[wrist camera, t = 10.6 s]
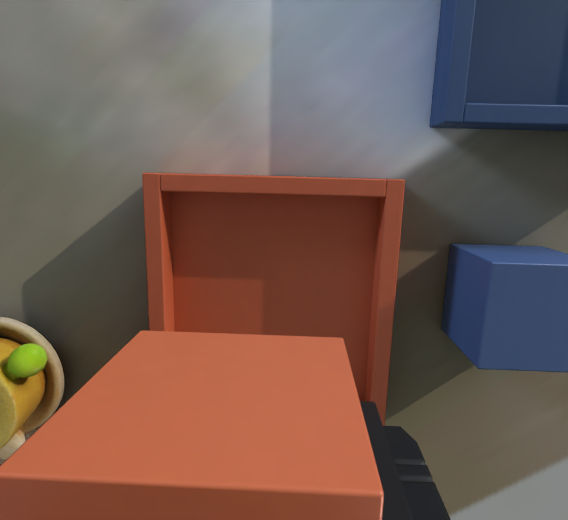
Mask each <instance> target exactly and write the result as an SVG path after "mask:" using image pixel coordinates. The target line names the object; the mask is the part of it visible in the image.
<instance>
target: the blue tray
mask: <svg viewBox="0 0 568 520" xmlns="http://www.w3.org/2000/svg"><path fill="white" fill-rule="evenodd" d="M430 128H465V129H511V130H556V131H568V0H441V11H440V22H439V32H438V43H437V53H436V64H435V75H434V85H433V96H432V107H431V117H430Z"/></svg>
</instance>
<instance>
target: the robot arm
mask: <svg viewBox="0 0 568 520" xmlns="http://www.w3.org/2000/svg"><path fill="white" fill-rule="evenodd" d="M360 404H361V408H362V412H363V416H364V420H365V423H366V427H367V431H368V435H369V439H370V442H371V446H372V450H373V454H374V458H375V462H376V465H377V469H378V473H379V477H380V481H381V484H382V488H383V492H384V502H383V514H382V520H450V517H449V515H448V513H447V510H446V508H445V506H444V504H443V501H442V499H441V497H440V494H439V492H438V490H437V487H436V485H435V483H434V482H433V481H432V476H431V474H430V471H429V469H428V467H427V465H425V460H424V458H423V455H422V453H421V451H420V448H419V446H418V444H417V442H416V441H415V440H414V439H413V438H412V437H411V436H410V435H408V434H407V433H406V432H405V431H404V430H403V429H402V428H401V427H399V426H383V425H382V422H381V419H380V416H379V412H378V409H377V406H376V404H375V402H374V401H360Z"/></svg>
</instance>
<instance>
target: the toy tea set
mask: <svg viewBox="0 0 568 520" xmlns="http://www.w3.org/2000/svg"><path fill="white" fill-rule="evenodd" d="M63 393H64V374H63V368H62V365H61V362H60V360H59V357H58V355H57V353H56V351H55V350H54V348H53V347H52V345H51V344H50V343H49V342H48V341H47V340H46V339H45V338H44V337H43V336H42V335H41V334H40V333H38V332H37V331H36V330H35V329H33V328H32V327H30V326H28V325H26V324H24V323H22V322H20V321H17V320H14V319H11V318H6V317H0V460H7V459H8V458H9V457H10V456H11V455H12V454H13V453H14V452H15V451H16V450H17V449H18V448H19V447H20V446H21V445H22V444H23V443H24V442H25V441H26V440H25V436H24V434H26V433H28V432H30V431H32V430H34V429H36V428H38V427H40V426H41V425H42V424H43V423H45V422H46V421H47V420H48V419H49V418H50V417H51V416H52V414H53V413H54V412H55V411H56V409H57V408H58V406H59V404H60V402H61V400H62V396H63Z"/></svg>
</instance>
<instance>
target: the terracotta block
mask: <svg viewBox="0 0 568 520" xmlns="http://www.w3.org/2000/svg"><path fill="white" fill-rule="evenodd" d="M383 502H384V492H383V488H382V484H381V481H380V477H379V473H378V469H377V465H376V462H375V458H374V454H373V450H372V446H371V442H370V439H369V435H368V431H367V427H366V423H365V420H364V416H363V412H362V408H361V404H360V400H359V397H358V393H357V389H356V385H355V381H354V378H353V374H352V370H351V366H350V362H349V359H348V355H347V351H346V347H345V343H344V340H343V338H336V337H309V336H281V335H253V334H226V333H198V332H171V331H143V330H142V331H140V332H139V333H138V334H137V335H135V336H134V337H133V338H132V339H131V340H130V341H129V342H128V343H127V344H126V345H125V346H124V347H123V348H122V349H121V350H120V351H119V352H118V353H117V354H116V355H115V356H114V357H113V358H112V359H111V360H110V361H108V362H107V363H106V364H105V365H104V366H103V367H102V368H101V369H100V370H99V371H98V372H97V373H96V374H95V375H94V376H93V377H92V378H91V379H90V380H89V381H88V382H87V383H86V384H85V385H84V386H82V387H81V388H80V389H79V390H78V391H77V392H76V393H75V394H74V395H73V396H72V397H71V398H70V399H69V400H68V401H67V402H66V403H65V404H64V405H63V406H62V407H61V408H60V409H59V410H58V411H56V412H55V413H54V414H53V415H52V416H51V417H50V418H49V419H48V420H47V421H46V422H45V423H44V424H43V425H42V426H41V427H40V428H39V429H38V430H37V431H36V432H35V433H34V434H33V435H32V436H30V437H29V438H28V439H27V440H26V441H25V442H24V443H23V444H22V445H21V446H20V447H19V448H18V449H17V450H16V451H15V452H14V453H13V454H12V455H11V456H10V457H9V458H8V459H7V460H6V461H5V462H3V463H2V464H1V465H0V520H382V514H383Z"/></svg>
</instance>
